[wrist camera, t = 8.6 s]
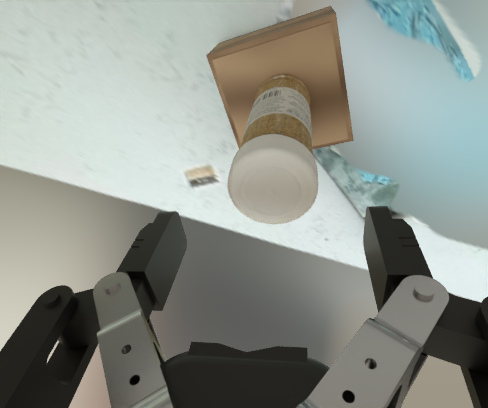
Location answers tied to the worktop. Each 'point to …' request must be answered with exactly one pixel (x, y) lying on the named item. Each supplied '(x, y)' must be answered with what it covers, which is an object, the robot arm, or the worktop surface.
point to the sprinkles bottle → (276, 155)
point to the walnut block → (287, 72)
